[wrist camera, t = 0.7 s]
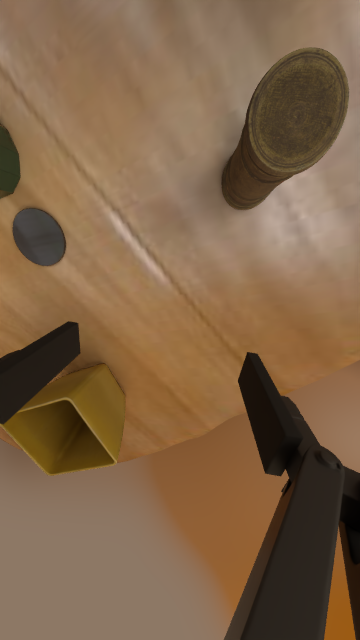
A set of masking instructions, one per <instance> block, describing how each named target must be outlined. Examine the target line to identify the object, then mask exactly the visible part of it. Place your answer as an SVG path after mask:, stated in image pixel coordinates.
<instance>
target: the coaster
mask: <svg viewBox="0 0 360 640" xmlns="http://www.w3.org/2000/svg"><path fill="white" fill-rule="evenodd" d="M13 236H14V240H15V242H16V245H17V247H18V248H19V250H20V251H21V252H22V254H23V255H24V256H25V257H26V258H27V259H29V260H30V261H32V262H33V263H36V264H38V265H42V266H50V265H54V264H56V263H58V262H59V261H60V260H61V259H62V257H63V255H64V253H65V248H66V242H65V237H64V234H63V231H62V229H61V227H60V226H59V224H58V223H57V221H56V220H55V219H54V218H53V217H52V216H50V215H49V214H48V213H46V212H44V211H42V210H39V209H34V208H29V209H25V210H22V211H21V212H19V213H18V214H17V215H16V217H15V219H14V222H13Z"/></svg>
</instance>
